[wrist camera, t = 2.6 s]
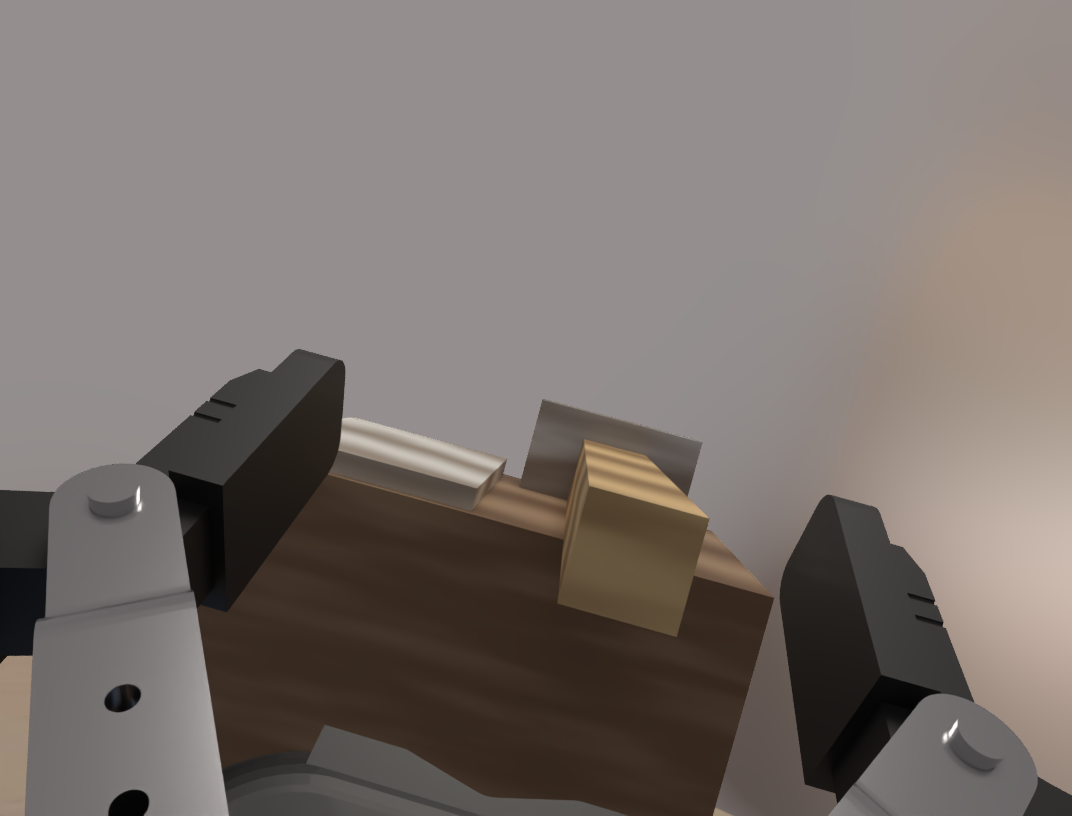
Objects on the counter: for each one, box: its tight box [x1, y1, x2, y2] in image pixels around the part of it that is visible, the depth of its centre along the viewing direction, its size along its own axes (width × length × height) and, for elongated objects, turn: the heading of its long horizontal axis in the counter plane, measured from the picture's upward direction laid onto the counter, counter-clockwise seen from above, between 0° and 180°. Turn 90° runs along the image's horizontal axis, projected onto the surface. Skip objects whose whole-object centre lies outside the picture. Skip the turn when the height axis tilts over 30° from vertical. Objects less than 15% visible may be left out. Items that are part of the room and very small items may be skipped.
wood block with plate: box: [519, 399, 709, 637], centre depth 32 cm, size 22×9×5 cm, turn 177°
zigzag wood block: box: [197, 417, 774, 816], centre depth 38 cm, size 14×24×33 cm, turn 87°
